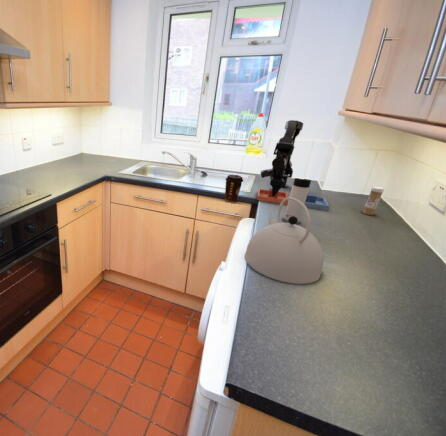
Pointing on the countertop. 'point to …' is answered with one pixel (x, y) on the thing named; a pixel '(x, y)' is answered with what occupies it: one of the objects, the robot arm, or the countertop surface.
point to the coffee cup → (232, 187)
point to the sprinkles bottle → (373, 200)
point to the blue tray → (318, 204)
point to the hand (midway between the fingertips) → (273, 193)
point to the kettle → (286, 250)
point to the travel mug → (299, 193)
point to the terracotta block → (271, 194)
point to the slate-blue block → (311, 198)
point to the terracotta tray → (264, 197)
